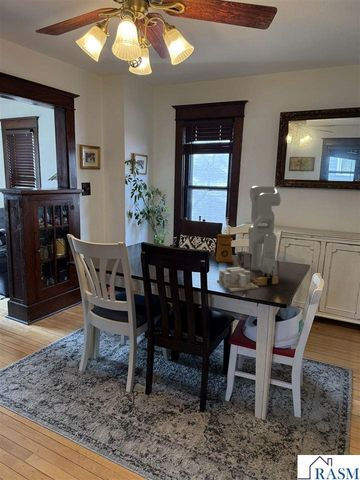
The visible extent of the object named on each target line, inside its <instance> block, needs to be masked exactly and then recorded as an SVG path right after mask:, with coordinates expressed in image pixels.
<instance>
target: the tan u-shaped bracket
mask: <svg viewBox="0 0 360 480" xmlns="http://www.w3.org/2000/svg"><path fill="white" fill-rule="evenodd" d="M267 276H268V275H267ZM267 278H268V277H261V276H260V277H257V278H256V279H255V278H253V277H252V276H251V277H250V282H251V283H253V284H255V285H257V286H258V285H259V286H265V285H268V284H267ZM278 283H279V276H278V275H275V276H274V277H273V278H272V284H271V285H275V284H278Z"/></svg>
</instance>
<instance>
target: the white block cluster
mask: <svg viewBox="0 0 360 480" xmlns="http://www.w3.org/2000/svg"><path fill="white" fill-rule="evenodd" d="M218 272H219V275H218V279H217V280H216V283H218V284H220V285H221V286H222V287H224V288H226V289H227V290H228V291H229V292H238V291H246V290H255V289H256V290H257V289H259V286H258V285H256V284H255V283H253V282H251V281H250V271H248V270H246V269H244V268H240V267H236V266H233V267H226V268H225V269H219V271H218Z"/></svg>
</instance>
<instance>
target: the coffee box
mask: <svg viewBox="0 0 360 480" xmlns="http://www.w3.org/2000/svg"><path fill="white" fill-rule="evenodd" d="M251 260H252V254H250V253H249V252H247V251H237V252H236V260H235V261H236V262H235V264H236V266H235V267H240V268H244V269H246V270H248V271H250V277H251V278H252V270H251Z"/></svg>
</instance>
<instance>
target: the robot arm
mask: <svg viewBox="0 0 360 480" xmlns="http://www.w3.org/2000/svg"><path fill="white" fill-rule="evenodd" d="M249 198H250V201H251V216H250V220H251V222H252V223H253V224H252V225H250V226H249V227H248V228H247V229H248V230H247V234H248V253H250V254H252V260H251V271H261V273H262V276H263V277H268V278H267V284H268V285H273V284H272V278H273V277H274V276H276V271H277V270H276V268H277V267H276V265H277V263H276V262H277V260H276V253H277V252H276V251H277V235H276V234H275V232H274V230H275V229H274V227H275V213H274V211H273V207H278V206H280V205H281V202H282V198H281V195H280V193H279V191H278V188H277V187H276V186H274V185H254V186H252V187H250V189H249ZM263 224H264V225H263ZM267 275H268V276H267Z"/></svg>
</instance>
